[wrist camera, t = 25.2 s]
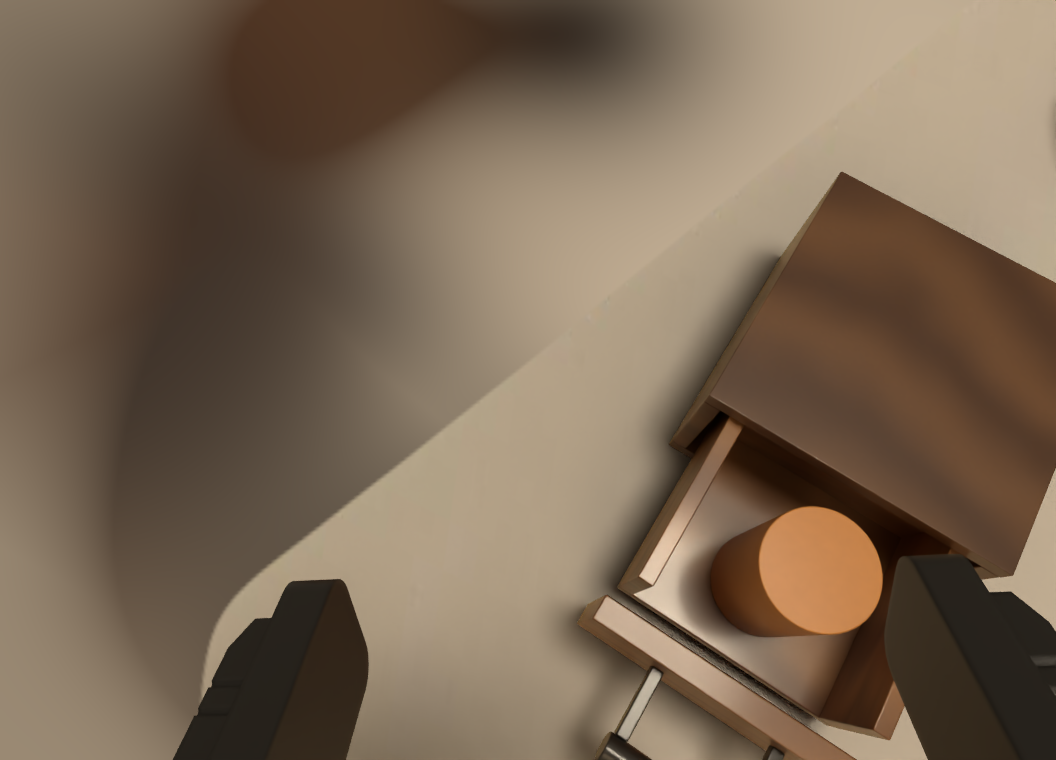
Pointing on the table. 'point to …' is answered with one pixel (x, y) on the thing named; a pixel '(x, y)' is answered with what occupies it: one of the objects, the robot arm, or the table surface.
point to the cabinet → (901, 372)
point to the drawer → (688, 603)
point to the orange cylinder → (798, 575)
